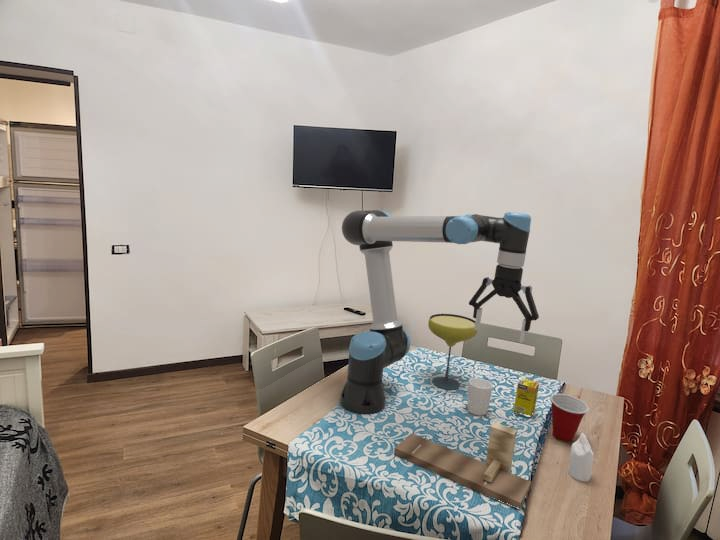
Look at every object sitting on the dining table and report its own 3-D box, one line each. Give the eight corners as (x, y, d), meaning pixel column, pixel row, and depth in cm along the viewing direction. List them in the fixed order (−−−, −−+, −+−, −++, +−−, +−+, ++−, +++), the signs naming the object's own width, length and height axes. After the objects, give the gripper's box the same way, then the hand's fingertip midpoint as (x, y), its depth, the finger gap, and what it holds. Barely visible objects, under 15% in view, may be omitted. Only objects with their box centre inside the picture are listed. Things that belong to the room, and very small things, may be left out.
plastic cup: (566, 450, 134) (573, 412, 132) (537, 431, 143) (542, 396, 141) (590, 443, 139) (597, 407, 137) (560, 425, 148) (566, 391, 146)
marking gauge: (474, 482, 115) (480, 439, 113) (488, 462, 124) (494, 422, 122) (498, 492, 112) (504, 448, 109) (510, 471, 121) (517, 430, 118)
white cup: (489, 418, 149) (493, 390, 147) (465, 414, 151) (469, 386, 149) (488, 407, 157) (492, 380, 155) (464, 403, 158) (468, 376, 156)
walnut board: (393, 454, 125) (394, 447, 125) (410, 439, 133) (411, 432, 133) (519, 510, 107) (520, 502, 106) (530, 488, 115) (531, 481, 114)
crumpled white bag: (601, 441, 117) (579, 439, 117) (593, 483, 119) (571, 480, 120) (592, 429, 123) (570, 426, 123) (584, 469, 125) (563, 466, 126)
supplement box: (531, 419, 151) (536, 388, 149) (512, 413, 154) (517, 383, 152) (534, 412, 156) (539, 382, 154) (517, 406, 159) (521, 377, 157)
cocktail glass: (461, 398, 162) (470, 331, 157) (414, 384, 170) (421, 320, 165) (475, 381, 177) (483, 320, 173) (431, 369, 186) (438, 310, 181)
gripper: (557, 272, 129) (544, 342, 133) (473, 257, 142) (463, 322, 146) (552, 275, 123) (538, 349, 127) (464, 259, 136) (454, 327, 140)
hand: (498, 334), depth 137 cm, fingers open, 13 cm apart
